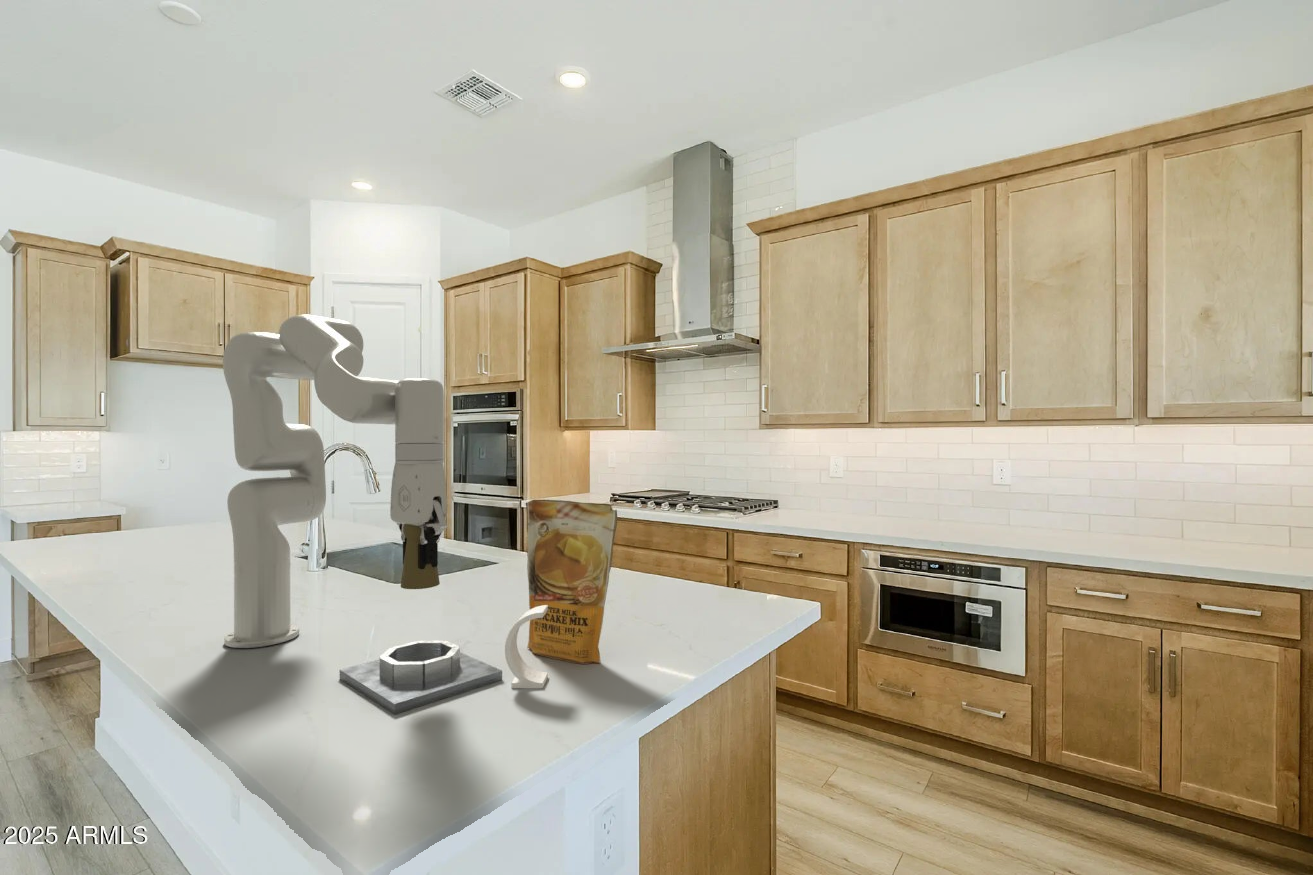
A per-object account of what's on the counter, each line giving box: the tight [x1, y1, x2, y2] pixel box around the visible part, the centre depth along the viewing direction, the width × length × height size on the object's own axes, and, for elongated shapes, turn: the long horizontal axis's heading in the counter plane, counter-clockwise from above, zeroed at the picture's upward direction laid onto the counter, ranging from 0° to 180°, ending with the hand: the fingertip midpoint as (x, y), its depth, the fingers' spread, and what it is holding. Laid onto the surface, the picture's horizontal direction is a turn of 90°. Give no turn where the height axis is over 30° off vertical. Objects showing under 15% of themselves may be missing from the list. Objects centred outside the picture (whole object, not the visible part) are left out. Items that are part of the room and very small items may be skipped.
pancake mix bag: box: [525, 499, 618, 665], centre depth 118 cm, size 7×19×28 cm, turn 61°
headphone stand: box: [504, 605, 549, 689], centre depth 104 cm, size 5×6×12 cm
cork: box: [400, 520, 441, 590], centre depth 106 cm, size 6×6×11 cm
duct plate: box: [339, 640, 503, 715], centre depth 106 cm, size 20×18×4 cm
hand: (420, 564), depth 106 cm, fingers closed on cork, 3 cm apart
